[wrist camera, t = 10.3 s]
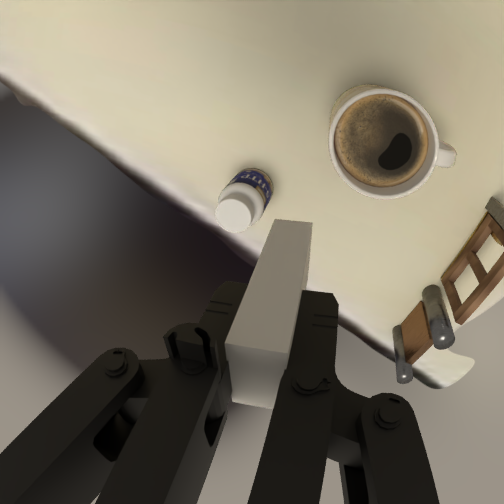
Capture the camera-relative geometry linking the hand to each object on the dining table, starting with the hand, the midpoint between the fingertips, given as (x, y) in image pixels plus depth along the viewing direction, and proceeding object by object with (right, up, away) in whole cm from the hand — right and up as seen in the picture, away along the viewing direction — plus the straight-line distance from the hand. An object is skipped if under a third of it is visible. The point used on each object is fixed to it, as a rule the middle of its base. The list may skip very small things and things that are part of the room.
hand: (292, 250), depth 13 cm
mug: (+13, +14, +20) cm, 28 cm away
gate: (+28, 0, +23) cm, 36 cm away
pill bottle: (-1, +8, +28) cm, 29 cm away
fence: (+26, -4, +28) cm, 38 cm away
